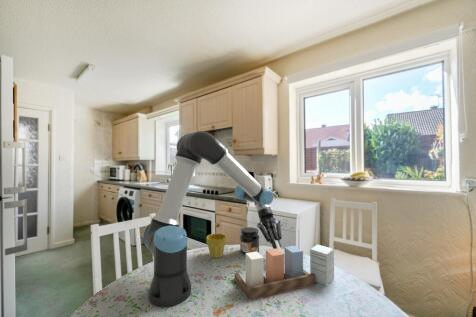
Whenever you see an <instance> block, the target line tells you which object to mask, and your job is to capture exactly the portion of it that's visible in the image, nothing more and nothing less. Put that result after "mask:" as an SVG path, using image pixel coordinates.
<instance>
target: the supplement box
mask: <svg viewBox="0 0 476 317" xmlns="http://www.w3.org/2000/svg"><path fill="white" fill-rule="evenodd" d="M309 258H310V259H309V262H310V263H309V267H310V268H309V272H310V273H309V274H312V273H314V274H315V282H318V283H319V284H323V285H325V286H328V285H330V283H332V282H333V280H335V249H334V248H332V247H329V246H328V247H327V246H324V245H321V244H316V245H315V246H312V248H310V250H309Z"/></svg>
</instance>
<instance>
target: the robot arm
mask: <svg viewBox="0 0 476 317" xmlns="http://www.w3.org/2000/svg"><path fill="white" fill-rule="evenodd" d="M174 157H175V159H176V160H175V161H176V163H175V166H174V169H173V172H172V175H171V177H170V180H169V183H168V185H167V189H166V191H165V194H164V196H163V199H162V202H161V205H160V207H159V210H158V212H157V214H155V215H153V216H152V217H151V220H150V223H149V224H148V225H147V226H146V227H145V229H144V231H143V234H142V240H143V244H144V246H145V247H146V249H147V251H149V252H150V253H151V256H153V276H152V278H151V283H150V286H149V287H148V288H149V289H148V301H149V303H150V304H152V305H153V306H155V307H161V308H164V307H167V308H168V307H173V306H176V305H179V304H181V303H183V302H184V301H186V300H187V299H188V298H189V296H191V293H192V282H191V279H190V276H189V274H188V270H187V265H188V263H187V262H188V261H187V260H188V254H187V253H188V234H187V231H186V229H185V228H183V227H181V226H180V222H179V216H180V213H181V210H182V207H183V204H184V201H185V198H186V196H187V193H188V191H189V190H188V189H189V188H190V184H191V182H192V178H193V176H194V173H195V169H196V168H197V167H199V166H200V165H201V163H202V160H206V161H207V162H208V163H210V164H211V165H212V166H216V167H217V168H218V169H220V170H221V171H222V172H223V173H224V174H225V175H226V176H227V177H229V179H230V180H232V181H233V182H234V183H235V184H236V185H237V186H236V187H235V189H234V196H235V198H237V199H240V200H242V201H243V200H244V201H247V202H252V203H254V206H255V210H256V212H257V215H258V218H259V222H258V223H257V225H256V227H257V229H258V230H260V232H261V234H262V235H263V237H264V239H265V241H266V242H267V243H269V244H271V247H272V249H278V250H279V251H280V252H282V248H281V247H282V244H281V242H280V241H281V240H282V237H283V236H282V230H281V220H277V219H276V218H275V217H274V213H273V210H272V208H271V204H272V203H273V201H274V193H273V191H272V190H270V189H268V188H264V187H263V186H262V185H261V184H260V183H259V182H258V181H257V180H256V179H255V178H254V177H253V176H252V175H251V174H250V173H249V172H248V171H247V170H246V169H245V168H244V167H243V166H242V165H241V163H239V162H238V161H237V160H236V159H235V158H234V157H233V156H232V155H231V154H230V153H229V152H228V148H227V147H226V146H225V145H224V144H223V142H221V141H220V140H219V139H218V138H216V137H215V136H214V135H213V134H211V133H209V132H208V131H207V132H206V131H203V130H199V131H195V132H189V133H185V134H184V135H183V136H181V137H180V138H179V139H178V141H177V142H176V153H175V156H174ZM282 253H283V252H282Z"/></svg>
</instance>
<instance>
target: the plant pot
mask: <svg viewBox="0 0 476 317" xmlns="http://www.w3.org/2000/svg"><path fill="white" fill-rule="evenodd" d="M205 241H206V246H207V247H208V248H207V249H208V250H209V256H210V257H211V258H214V259H219V258H222V257H224V256H223V255H224V250H225V246H226V244H227V235H226V234H223V233H211V234H208V235H207V236H206V240H205Z"/></svg>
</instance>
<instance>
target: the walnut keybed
mask: <svg viewBox="0 0 476 317" xmlns="http://www.w3.org/2000/svg"><path fill="white" fill-rule="evenodd" d="M234 280H235V281H236V283H237V286H238V287H239V288H240V290H241V291H242V294H244V296H245V298H246V299H247V300H250V301H251V300H253V299H258V298H262V297H267V296H271V295H274V294H275V295H276V294H278V293H279V294H280V293H283V292H288V291H292V290H296V289H300V288H305V287H310V286H313V285H316V281H315V274H314V273H312V274H310V273H309V272H308V271H306V269H305V268H303V276H298V277H293V278H289V277H288V276H287V275H286V274H285V272H284V280H279V281H274V282H269V281H268V280H267V279H266V276H264V284H260V285H256V286H251V287H248V286H247V285H246V281H245V280H244V279H243V278H242V276H241V275H240V273H239V272H235V273H234Z"/></svg>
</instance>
